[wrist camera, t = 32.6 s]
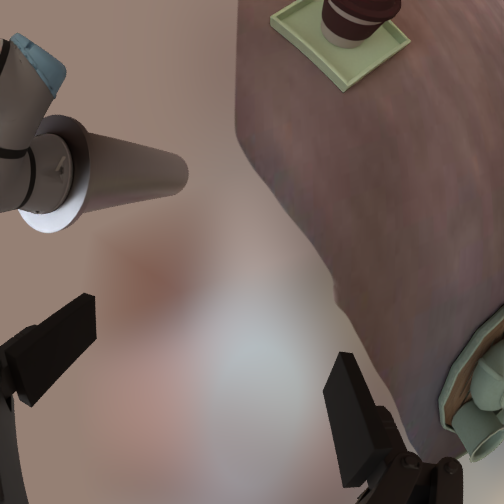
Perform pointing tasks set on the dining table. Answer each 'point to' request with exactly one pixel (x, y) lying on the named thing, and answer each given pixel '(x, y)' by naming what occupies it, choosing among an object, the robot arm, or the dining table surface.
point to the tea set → (477, 391)
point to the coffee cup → (355, 19)
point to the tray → (328, 55)
